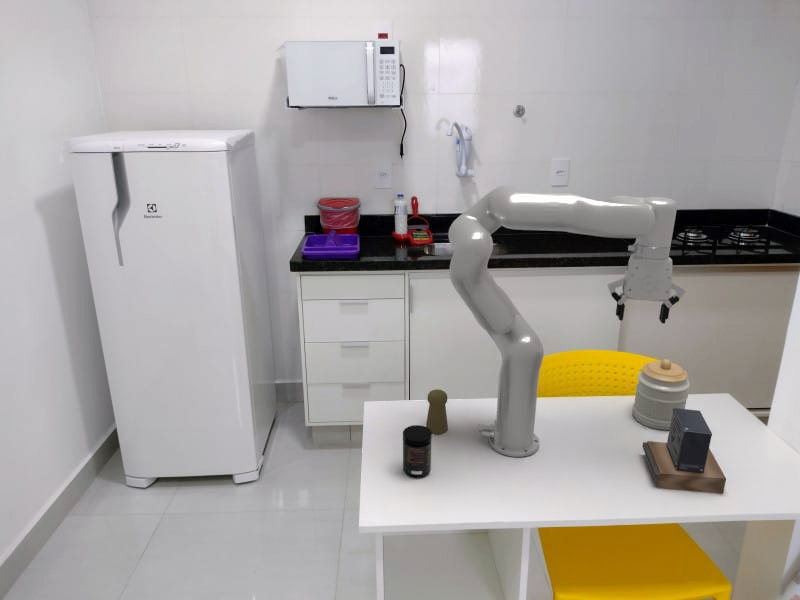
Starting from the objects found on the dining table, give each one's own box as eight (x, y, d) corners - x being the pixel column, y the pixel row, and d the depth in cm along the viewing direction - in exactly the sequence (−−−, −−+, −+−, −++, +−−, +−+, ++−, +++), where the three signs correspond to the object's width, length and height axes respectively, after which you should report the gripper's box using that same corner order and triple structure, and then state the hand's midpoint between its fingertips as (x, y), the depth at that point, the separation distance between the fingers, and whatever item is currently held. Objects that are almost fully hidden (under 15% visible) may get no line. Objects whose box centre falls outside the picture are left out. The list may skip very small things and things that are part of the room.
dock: (653, 487, 142) (655, 472, 141) (641, 454, 154) (643, 440, 153) (723, 493, 140) (726, 478, 138) (705, 459, 152) (708, 445, 151)
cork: (452, 426, 166) (453, 390, 162) (441, 437, 161) (442, 400, 157) (432, 420, 169) (433, 384, 165) (421, 430, 164) (421, 393, 160)
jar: (678, 409, 175) (688, 351, 168) (687, 434, 163) (698, 373, 157) (629, 403, 177) (637, 347, 171) (634, 427, 166) (643, 368, 159)
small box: (706, 474, 140) (714, 433, 136) (675, 471, 141) (682, 430, 137) (693, 447, 150) (701, 409, 146) (665, 444, 151) (671, 406, 147)
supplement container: (429, 461, 151) (430, 424, 148) (432, 479, 145) (433, 440, 141) (401, 463, 151) (401, 425, 147) (403, 480, 145) (403, 441, 141)
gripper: (615, 253, 142) (605, 323, 148) (695, 258, 139) (682, 328, 145) (610, 245, 149) (601, 311, 155) (687, 249, 146) (674, 316, 152)
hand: (640, 319), depth 150 cm, fingers open, 9 cm apart
